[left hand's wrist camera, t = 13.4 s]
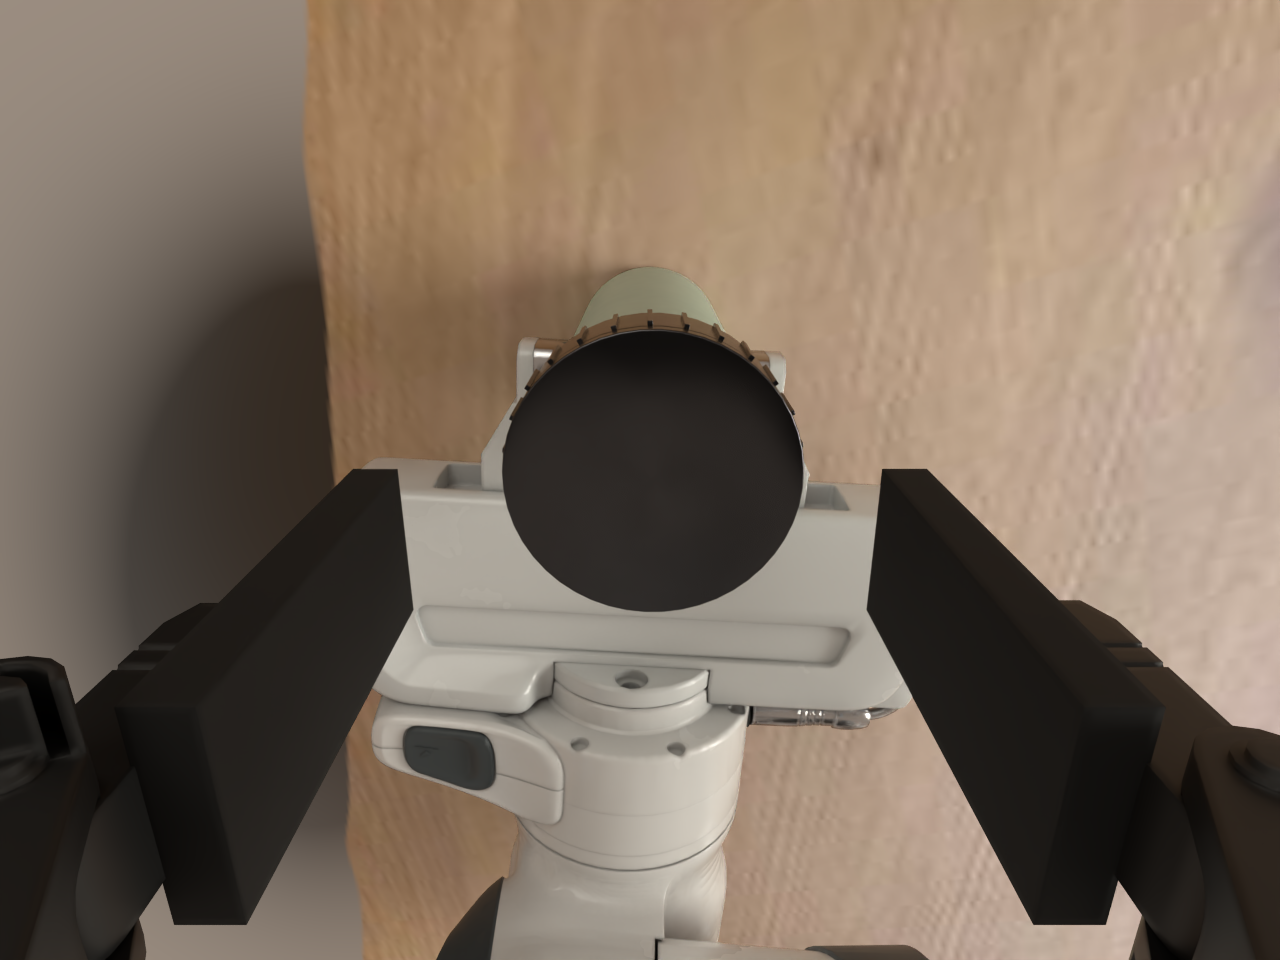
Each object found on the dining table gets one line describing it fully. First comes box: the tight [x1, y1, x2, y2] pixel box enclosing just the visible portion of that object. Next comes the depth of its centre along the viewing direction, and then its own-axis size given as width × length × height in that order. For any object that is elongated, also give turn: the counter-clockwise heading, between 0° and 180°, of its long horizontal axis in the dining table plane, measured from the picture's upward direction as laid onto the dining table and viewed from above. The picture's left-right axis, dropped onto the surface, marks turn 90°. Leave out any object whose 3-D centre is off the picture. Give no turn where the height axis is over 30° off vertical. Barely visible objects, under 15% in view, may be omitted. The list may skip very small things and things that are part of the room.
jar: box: [574, 267, 726, 336], centre depth 24 cm, size 5×5×15 cm
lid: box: [502, 309, 804, 612], centre depth 17 cm, size 6×6×2 cm
